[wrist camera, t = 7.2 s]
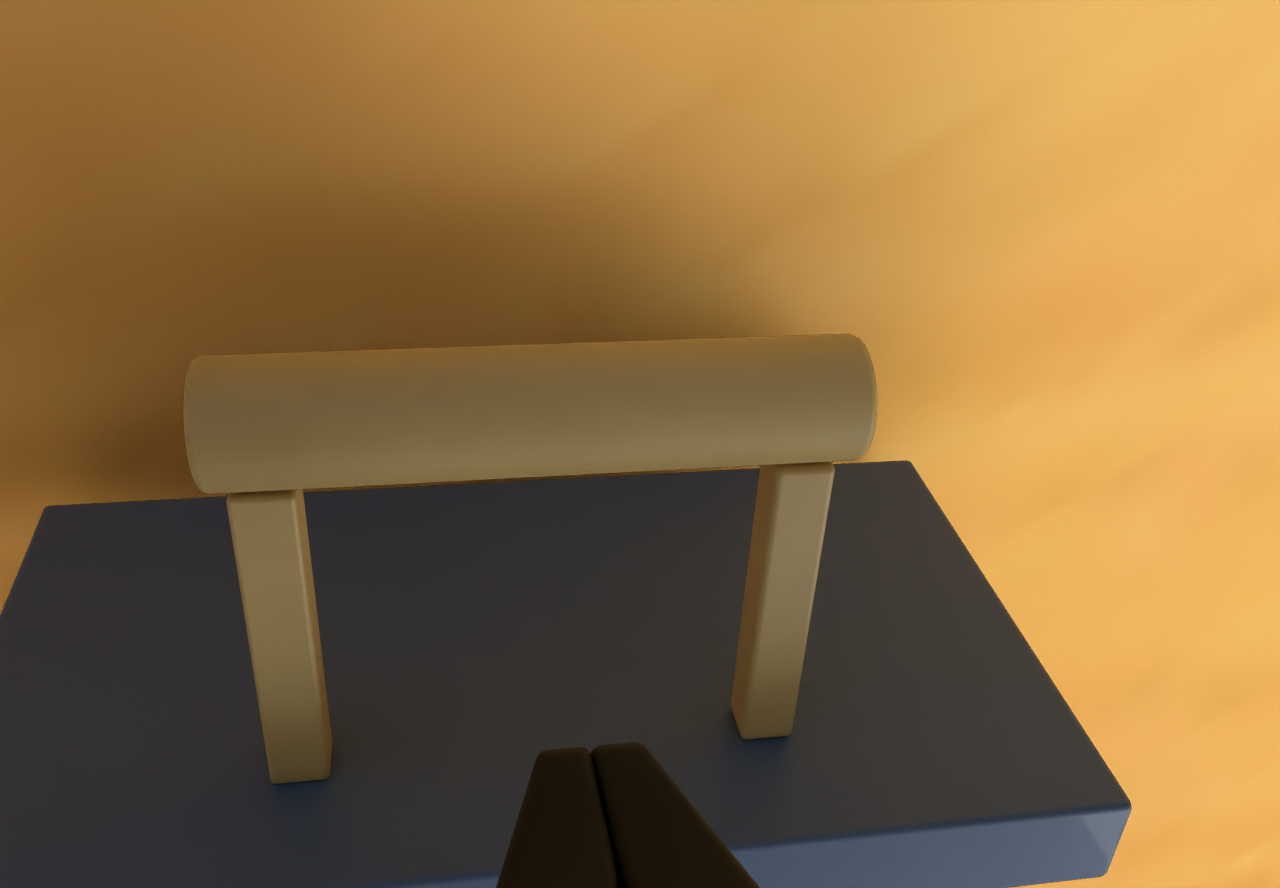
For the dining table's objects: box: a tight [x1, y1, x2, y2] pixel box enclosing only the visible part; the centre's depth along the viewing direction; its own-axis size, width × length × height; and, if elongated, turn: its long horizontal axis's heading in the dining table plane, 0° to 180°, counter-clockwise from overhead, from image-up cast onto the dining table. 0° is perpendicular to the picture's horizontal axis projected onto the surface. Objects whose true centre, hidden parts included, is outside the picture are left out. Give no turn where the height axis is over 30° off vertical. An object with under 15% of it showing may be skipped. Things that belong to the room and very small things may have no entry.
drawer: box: [0, 334, 1131, 888], centre depth 17 cm, size 18×12×7 cm
